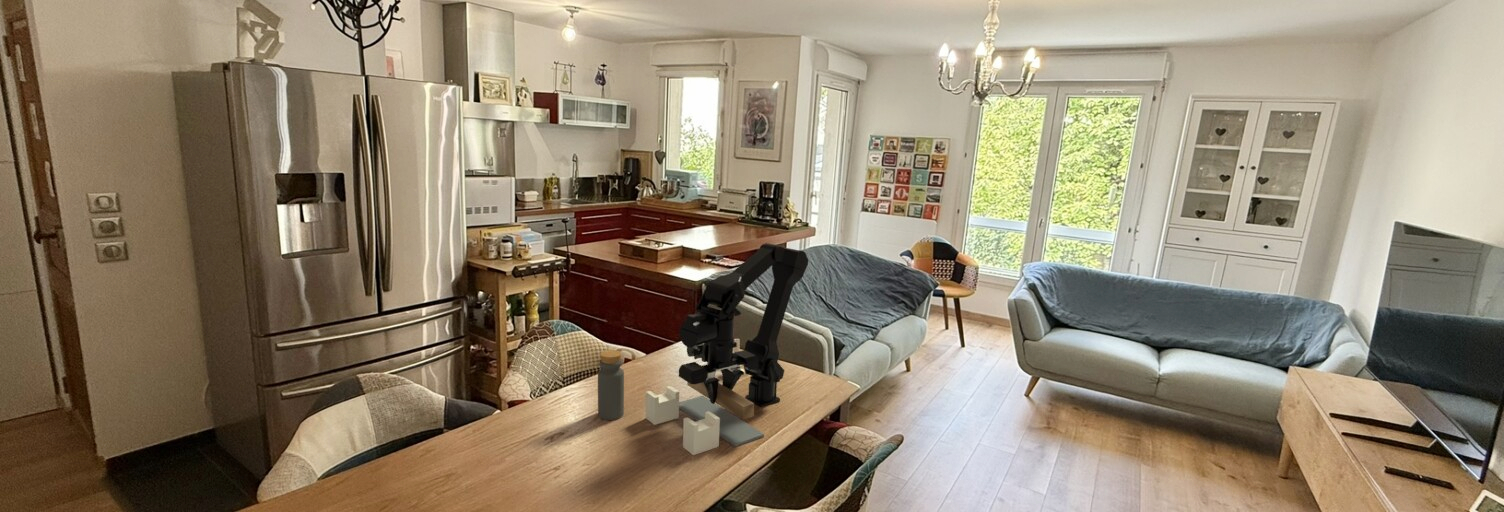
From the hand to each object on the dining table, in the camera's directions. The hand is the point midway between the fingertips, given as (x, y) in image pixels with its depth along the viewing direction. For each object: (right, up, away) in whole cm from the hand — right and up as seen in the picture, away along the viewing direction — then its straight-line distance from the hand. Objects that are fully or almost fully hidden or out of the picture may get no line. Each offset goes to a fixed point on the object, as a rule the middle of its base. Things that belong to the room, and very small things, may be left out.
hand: (718, 401), depth 139 cm
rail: (0, 0, 0) cm, 0 cm away
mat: (0, -5, +1) cm, 5 cm away
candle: (+3, +1, +30) cm, 30 cm away
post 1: (-13, -4, +1) cm, 14 cm away
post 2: (-3, -7, -11) cm, 14 cm away
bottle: (-25, -4, +1) cm, 25 cm away
